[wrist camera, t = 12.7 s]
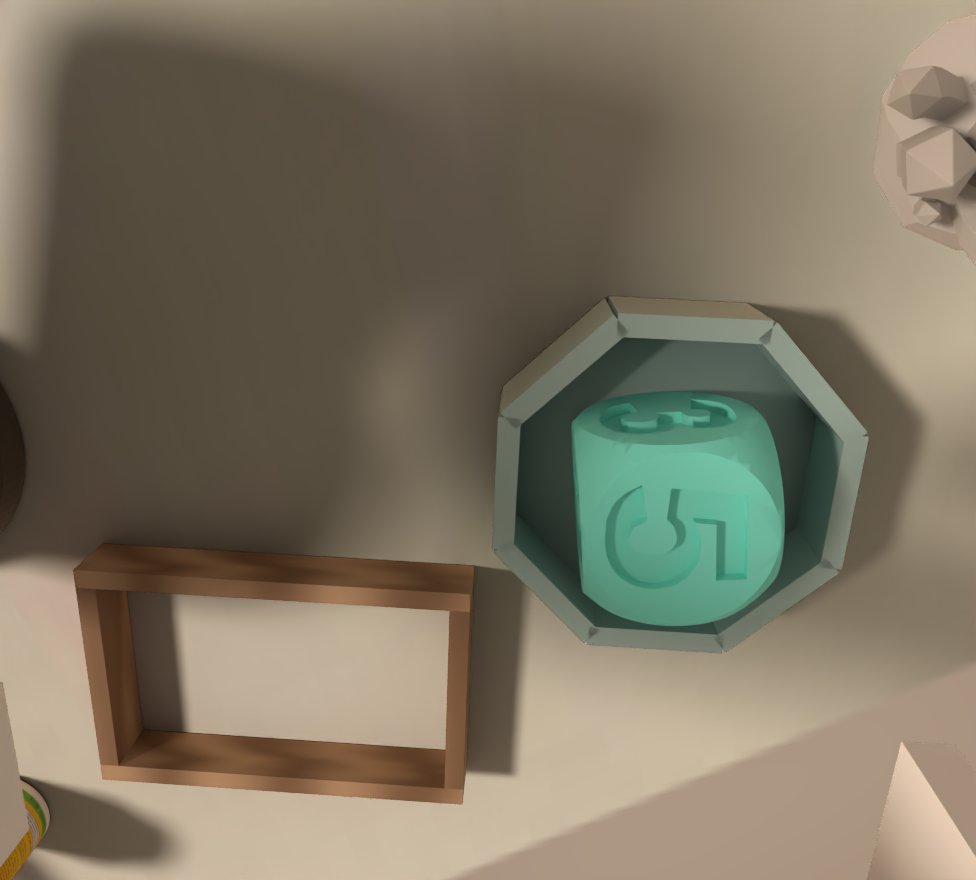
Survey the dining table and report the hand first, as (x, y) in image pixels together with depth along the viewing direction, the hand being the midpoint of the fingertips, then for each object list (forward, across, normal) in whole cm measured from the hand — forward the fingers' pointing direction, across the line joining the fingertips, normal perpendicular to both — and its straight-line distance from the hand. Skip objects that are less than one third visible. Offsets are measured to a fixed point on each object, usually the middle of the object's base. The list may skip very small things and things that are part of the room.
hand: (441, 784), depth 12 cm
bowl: (+29, +8, -5) cm, 30 cm away
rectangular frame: (+29, -11, -18) cm, 36 cm away
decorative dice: (+28, +8, -5) cm, 30 cm away
